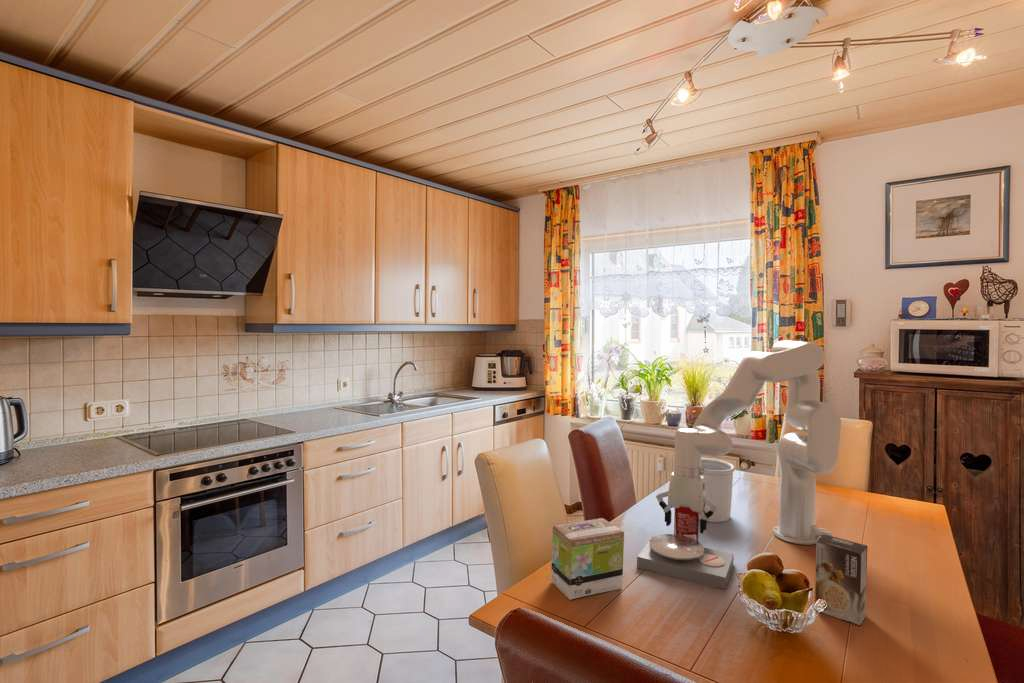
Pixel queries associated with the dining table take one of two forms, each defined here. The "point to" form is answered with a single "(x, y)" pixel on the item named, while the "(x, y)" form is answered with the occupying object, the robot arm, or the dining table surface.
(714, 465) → the utensil holder
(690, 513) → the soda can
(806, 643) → the dining table surface
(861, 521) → the dining table surface
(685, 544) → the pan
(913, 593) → the dining table surface
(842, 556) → the coffee box
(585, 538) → the tea box
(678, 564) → the scale
